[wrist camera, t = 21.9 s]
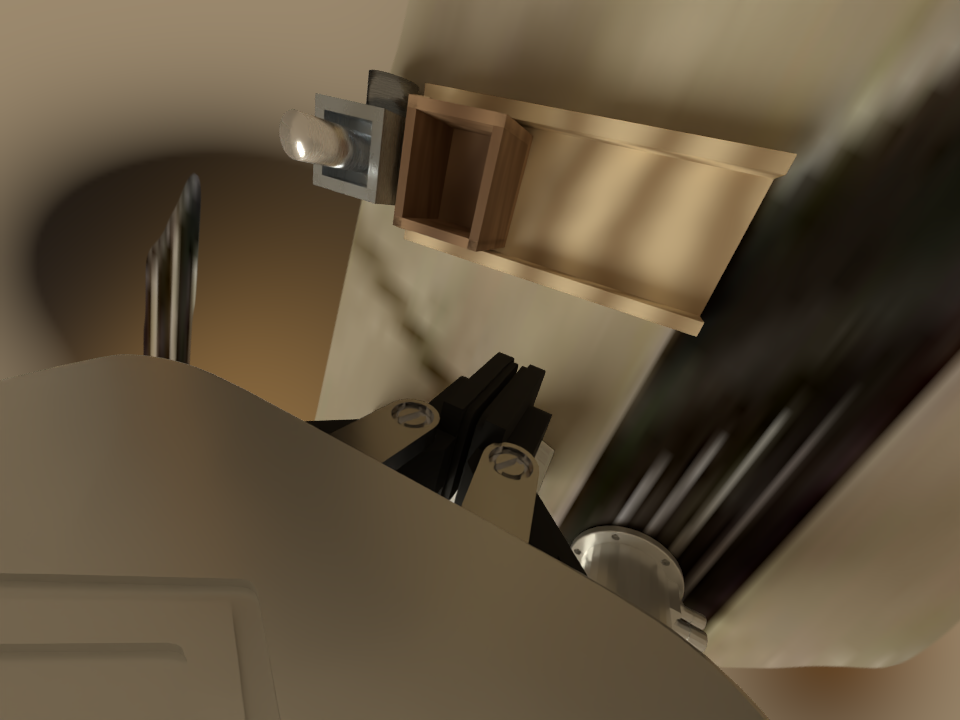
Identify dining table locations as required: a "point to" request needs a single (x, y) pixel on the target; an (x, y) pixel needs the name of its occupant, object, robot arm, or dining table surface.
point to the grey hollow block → (387, 133)
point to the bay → (623, 209)
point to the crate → (460, 173)
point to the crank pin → (324, 142)
